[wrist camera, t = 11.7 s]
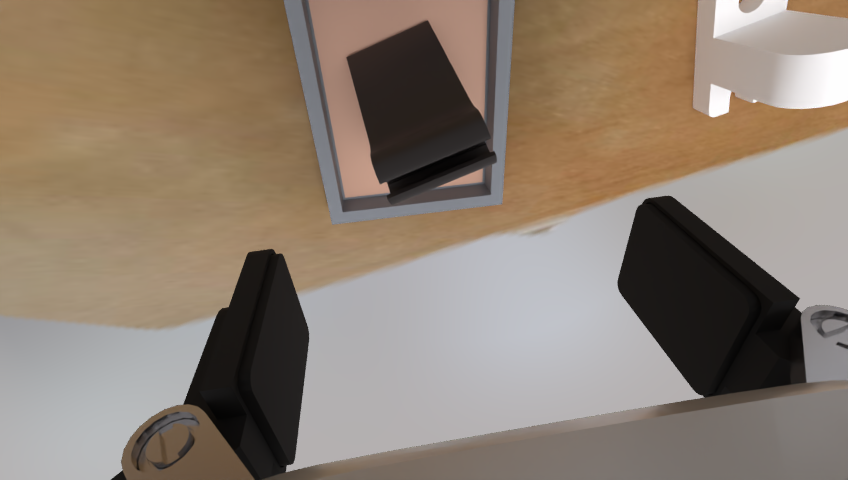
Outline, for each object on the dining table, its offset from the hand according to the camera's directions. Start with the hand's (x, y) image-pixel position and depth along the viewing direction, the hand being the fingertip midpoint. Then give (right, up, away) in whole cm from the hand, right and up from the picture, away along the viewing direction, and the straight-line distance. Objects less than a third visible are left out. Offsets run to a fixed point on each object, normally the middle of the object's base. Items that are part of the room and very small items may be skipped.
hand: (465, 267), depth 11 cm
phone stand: (-2, +11, +20) cm, 23 cm away
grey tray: (-2, +11, +20) cm, 24 cm away
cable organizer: (+23, +16, +22) cm, 35 cm away
